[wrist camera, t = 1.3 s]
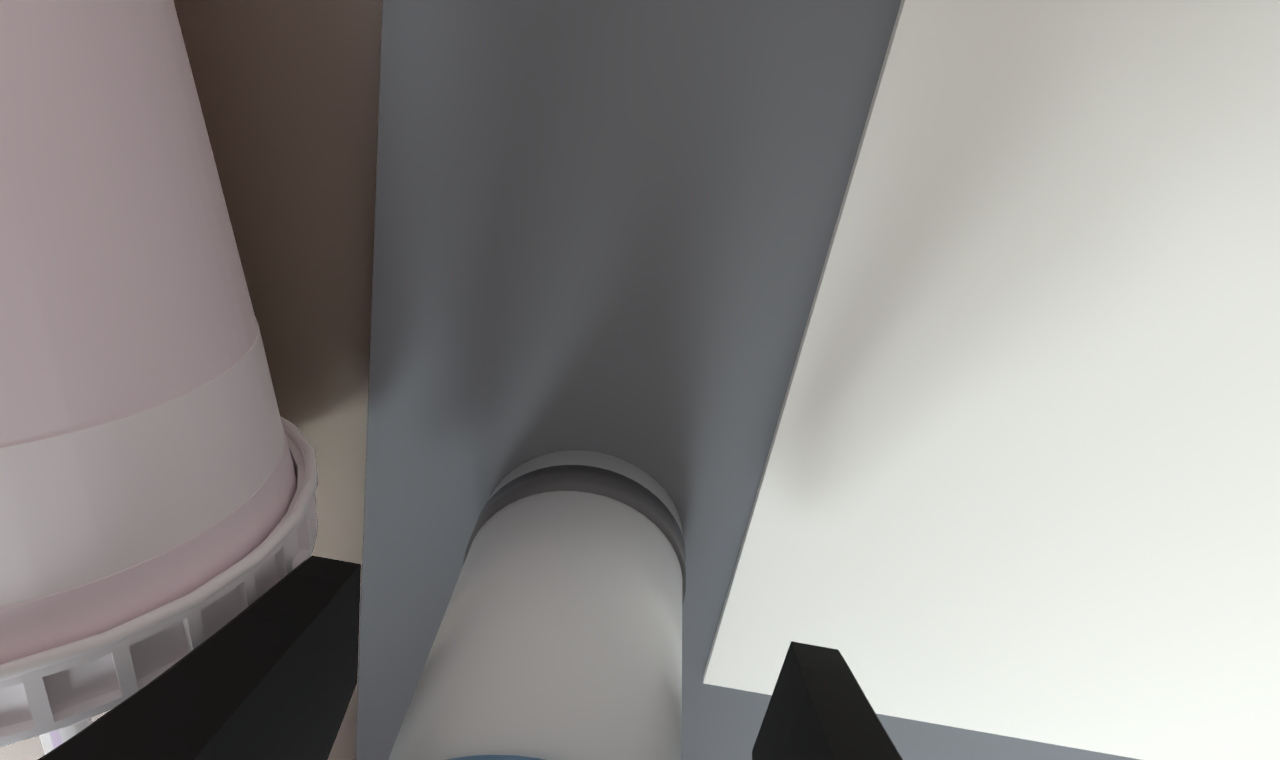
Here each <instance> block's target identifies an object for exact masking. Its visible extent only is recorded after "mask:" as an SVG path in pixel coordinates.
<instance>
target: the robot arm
mask: <svg viewBox="0 0 1280 760" xmlns="http://www.w3.org/2000/svg"><path fill="white" fill-rule="evenodd" d="M360 572H361V564H356V563H350V562H344V561H339V560H333V559H328V558H322V557H316V556H311V557H310V558H308V559H306V560H305V561H303V562H302V563H301V564H299V565H298V566H297V567H296V568H295V569H293V570H292V571H291V572H290V573H289V574H287V575H286V576H285V577H284V578H282V579H281V580H280V581H279V582H278V583H276V584H275V585H274V586H273V587H272V588H270V589H269V590H268V591H267V592H265V593H264V594H263V595H262V596H261V597H259V598H258V599H257V600H256V601H254V602H253V603H252V604H251V605H250V606H248V607H247V608H246V609H245V610H243V611H242V612H241V613H240V614H238V615H237V616H236V617H235V618H233V619H232V620H231V621H230V622H228V623H227V624H226V625H225V626H223V627H222V628H221V629H220V630H218V631H217V632H216V633H215V634H213V635H212V636H211V637H209V638H208V639H207V640H205V641H204V642H203V643H201V644H200V645H199V646H198V647H196V648H195V649H194V650H192V651H191V652H190V653H188V654H187V655H186V656H184V657H183V658H182V659H181V660H179V661H178V662H177V663H175V664H174V665H173V666H171V667H170V668H169V669H167V670H166V671H165V672H163V673H162V674H161V675H159V676H158V677H157V678H155V679H154V680H153V681H151V682H150V683H149V684H147V685H146V686H144V687H143V688H142V689H140V690H139V691H137V692H136V693H135V694H133V695H132V696H130V697H129V698H127V699H126V700H125V701H123V702H122V703H120V704H119V705H117V706H116V707H115V708H113V709H112V710H110V711H109V712H107V713H106V714H105V715H103V716H102V717H100V718H99V719H97V720H96V721H95V722H93V723H92V724H90V725H89V726H87V727H86V728H85V729H83V730H82V731H80V732H79V733H77V734H76V735H75V736H73V737H72V738H70V739H69V740H67V741H66V742H64V743H63V744H61V745H59V746H58V747H56V748H55V749H53V750H52V751H50V752H49V753H47V754H46V755H44V756H43V757H41V758H40V759H38V760H327V759H328V756H329V754H330V751H331V749H332V746H333V743H334V741H335V738H336V736H337V733H338V731H339V728H340V726H341V723H342V721H343V718H344V715H345V713H346V710H347V707H348V705H349V702H350V699H351V697H352V694H353V691H354V689H355V686H356V683H357V667H358V635H359V604H360ZM752 760H903V759H902V757H901V755H900V754H899V752H898V751H897V749H896V747H895V745H894V744H893V742H892V740H891V739H890V737H889V735H888V734H887V732H886V730H885V729H884V727H883V725H882V723H881V722H880V720H879V718H878V717H877V715H876V713H875V711H874V710H873V708H872V706H871V705H870V703H869V701H868V699H867V698H866V696H865V694H864V692H863V691H862V689H861V687H860V685H859V684H858V682H857V680H856V678H855V677H854V675H853V673H852V671H851V670H850V668H849V666H848V664H847V663H846V661H845V659H844V658H843V656H842V655H841V653H840V652H839V650H837V649H832V648H826V647H821V646H815V645H809V644H804V643H798V642H793V641H791V643H790V646H789V649H788V651H787V654H786V657H785V660H784V663H783V665H782V668H781V671H780V674H779V677H778V680H777V682H776V685H775V688H774V691H773V694H772V696H771V699H770V702H769V705H768V708H767V710H766V713H765V716H764V719H763V722H762V724H761V727H760V730H759V733H758V736H757V738H756V741H755V744H754V747H753V750H752Z"/></svg>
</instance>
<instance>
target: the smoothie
mask: <svg viewBox="0 0 1280 760" xmlns="http://www.w3.org/2000/svg"><path fill="white" fill-rule="evenodd" d="M317 485H318V477H317V465H316V452H315V450H314V449H313V447H312V446H311V445H310V443H309V442H308V441H307V439H306V438H305V437H304V435H303V434H302V433H301V431H300V430H299V429H298V427H297V426H296V425H294V424H293V423H291V422H289V421H288V420H286V419H284V418H283V417H281V416H280V413H279V409H278V405H277V401H276V397H275V392H274V388H273V384H272V380H271V375H270V371H269V367H268V363H267V359H266V354H265V350H264V346H263V342H262V338H261V333H260V329H259V325H258V322H257V319H256V318H255V314H254V311H253V307H252V303H251V299H250V295H249V291H248V287H247V283H246V280H245V276H244V272H243V268H242V264H241V260H240V256H239V252H238V249H237V245H236V241H235V237H234V233H233V229H232V225H231V222H230V218H229V214H228V210H227V206H226V202H225V198H224V194H223V191H222V187H221V183H220V179H219V175H218V171H217V167H216V164H215V160H214V156H213V152H212V148H211V144H210V140H209V136H208V133H207V129H206V125H205V121H204V117H203V113H202V109H201V105H200V102H199V98H198V94H197V90H196V86H195V82H194V78H193V75H192V71H191V67H190V63H189V59H188V55H187V51H186V47H185V44H184V40H183V36H182V32H181V28H180V24H179V20H178V17H177V13H176V9H175V5H174V1H173V0H0V747H2V746H5V745H9V744H12V743H15V742H19V741H22V740H26V739H29V738H32V737H36V736H39V737H40V740H41V744H42V747H43V751H44V754H45V755H46V754H47V753H49V752H50V751H52V750H53V749H55V748H56V747H58V746H59V745H61V744H63V743H64V742H66V741H67V740H69V739H70V738H72V737H73V736H75V735H76V734H77V733H79V732H80V731H82V730H83V729H85V728H86V727H87V726H89V725H90V724H92V719H91V717H94V716H96V715H98V714H101V713H103V712H106V711H108V710H110V709H113V708H115V707H116V706H117V705H119V704H120V703H122V702H123V701H125V700H126V699H127V698H129V697H130V696H132V695H133V694H135V693H136V692H137V691H139V690H140V689H142V688H143V687H144V686H146V685H147V684H149V683H150V682H151V681H153V680H154V679H155V678H157V677H158V676H159V675H161V674H162V673H163V672H165V671H166V670H167V669H169V668H170V667H171V666H173V665H174V664H175V663H177V662H178V661H179V660H181V659H182V658H183V657H184V656H186V655H187V654H188V653H190V652H191V651H192V650H194V649H195V648H196V647H198V646H199V645H200V644H201V643H203V642H204V641H205V640H207V639H208V638H209V637H211V636H212V635H213V634H215V633H216V632H217V631H218V630H220V629H221V628H222V627H223V626H225V625H226V624H227V623H228V622H230V621H231V620H232V619H233V618H235V617H236V616H237V615H238V614H240V613H241V612H242V611H243V610H245V609H246V608H247V607H248V606H250V605H251V604H252V603H253V602H254V601H256V600H257V599H258V598H259V597H261V596H262V595H263V594H264V593H265V592H267V591H268V590H269V589H270V588H272V587H273V586H274V585H275V584H276V583H278V582H279V581H280V580H281V579H282V578H284V577H285V576H286V575H287V574H289V573H290V572H291V571H292V570H293V569H295V568H296V567H297V566H298V565H299V564H301V563H302V562H303V561H305V560H306V559H308V558H310V555H311V553H312V551H313V548H314V544H315V541H316V537H317V527H318V519H317V509H316V498H315V489H316V487H317Z"/></svg>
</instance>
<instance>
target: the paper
mask: <svg viewBox="0 0 1280 760" xmlns="http://www.w3.org/2000/svg"><path fill="white" fill-rule="evenodd" d="M791 641H793V642H798V643H804V644H809V645H815V646H821V647H826V648H832V649H837V650H839V652H840V653H841V655H842V656H843V658H844V659H845V661H846V663H847V664H848V666H849V668H850V670H851V671H852V673H853V675H854V677H855V678H856V680H857V682H858V684H859V685H860V687H861V689H862V691H863V692H864V694H865V696H866V698H867V699H868V701H869V703H870V705H871V706H872V708H873V710H874V711H875V713H876V714H882V715H888V716H893V717H899V718H905V719H911V720H916V721H922V722H928V723H934V724H939V725H945V726H951V727H956V728H962V729H968V730H974V731H979V732H985V733H991V734H997V735H1002V736H1008V737H1014V738H1020V739H1025V740H1031V741H1037V742H1043V743H1048V744H1054V745H1060V746H1066V747H1071V748H1077V749H1083V750H1088V751H1094V752H1100V753H1106V754H1111V755H1117V756H1123V757H1129V758H1134V759H1140V760H1280V0H902V1H901V4H900V8H899V11H898V14H897V18H896V21H895V25H894V28H893V31H892V35H891V38H890V42H889V45H888V48H887V52H886V55H885V59H884V62H883V65H882V69H881V72H880V76H879V79H878V82H877V86H876V89H875V93H874V96H873V99H872V103H871V106H870V110H869V113H868V116H867V120H866V123H865V127H864V130H863V133H862V137H861V140H860V144H859V147H858V150H857V154H856V157H855V161H854V164H853V167H852V171H851V174H850V178H849V181H848V184H847V188H846V191H845V195H844V198H843V201H842V205H841V208H840V212H839V215H838V218H837V222H836V225H835V229H834V232H833V235H832V239H831V242H830V246H829V249H828V252H827V256H826V259H825V263H824V266H823V269H822V273H821V276H820V280H819V283H818V286H817V290H816V293H815V297H814V300H813V303H812V307H811V310H810V314H809V317H808V320H807V324H806V327H805V331H804V334H803V337H802V341H801V344H800V348H799V351H798V354H797V358H796V361H795V365H794V368H793V371H792V375H791V378H790V382H789V385H788V388H787V392H786V395H785V399H784V402H783V405H782V409H781V412H780V416H779V419H778V422H777V426H776V429H775V433H774V436H773V440H772V443H771V446H770V450H769V453H768V457H767V460H766V463H765V467H764V470H763V474H762V477H761V480H760V484H759V487H758V491H757V494H756V497H755V501H754V504H753V508H752V511H751V514H750V518H749V521H748V525H747V528H746V531H745V535H744V538H743V542H742V545H741V548H740V552H739V555H738V559H737V562H736V565H735V569H734V572H733V576H732V579H731V582H730V586H729V589H728V593H727V596H726V599H725V603H724V606H723V610H722V613H721V616H720V620H719V623H718V627H717V630H716V633H715V637H714V640H713V644H712V647H711V650H710V654H709V657H708V661H707V664H706V667H705V671H704V674H703V683H704V684H710V685H715V686H721V687H727V688H733V689H738V690H744V691H750V692H756V693H761V694H767V695H772V694H773V691H774V688H775V685H776V682H777V680H778V677H779V674H780V671H781V668H782V665H783V663H784V660H785V657H786V654H787V651H788V649H789V646H790V643H791Z"/></svg>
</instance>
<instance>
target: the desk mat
mask: <svg viewBox="0 0 1280 760" xmlns="http://www.w3.org/2000/svg"><path fill="white" fill-rule="evenodd" d="M901 1H902V0H383V5H382V33H381V61H380V89H379V117H378V144H377V172H376V200H375V228H374V256H373V284H372V312H371V340H370V367H369V395H368V423H367V451H366V479H365V507H364V535H363V563H362V590H361V618H360V646H359V674H358V702H357V730H356V758H355V760H388V759H389V756H390V754H391V751H392V749H393V746H394V743H395V741H396V738H397V736H398V733H399V731H400V728H401V725H402V723H403V720H404V718H405V715H406V712H407V710H408V707H409V705H410V702H411V700H412V697H413V694H414V692H415V689H416V687H417V684H418V681H419V679H420V676H421V674H422V671H423V669H424V666H425V663H426V661H427V658H428V656H429V653H430V650H431V648H432V645H433V643H434V640H435V638H436V635H437V632H438V630H439V627H440V625H441V622H442V619H443V617H444V614H445V612H446V609H447V607H448V604H449V601H450V599H451V596H452V594H453V591H454V588H455V586H456V583H457V581H458V578H459V575H460V573H461V570H462V568H463V561H464V556H465V551H466V548H467V545H468V543H469V540H470V537H471V535H472V532H473V530H474V527H475V525H476V522H477V520H478V517H479V515H480V513H481V511H482V510H483V508H484V506H485V505H486V503H487V502H488V501H489V498H490V496H491V495H492V493H493V491H494V489H495V488H496V487H497V485H498V484H499V483H500V482H501V480H502V479H503V478H504V477H505V476H506V475H508V474H509V473H510V472H511V471H512V470H514V469H515V468H517V467H518V466H519V465H521V464H523V463H525V462H527V461H529V460H531V459H533V458H536V457H539V456H542V455H544V454H549V453H553V452H559V451H568V450H585V451H593V452H600V453H604V454H608V455H612V456H615V457H617V458H620V459H623V460H625V461H627V462H629V463H631V464H633V465H635V466H637V467H639V468H640V469H642V470H643V471H645V472H646V473H648V474H649V475H650V476H651V477H652V478H654V479H655V480H656V481H657V482H658V483H659V484H660V485H661V486H662V487H663V488H664V490H665V491H666V492H667V494H668V495H669V496H670V498H671V499H672V501H673V503H674V505H675V507H676V509H677V511H678V514H679V517H680V520H681V525H682V531H683V539H684V543H685V550H686V592H685V598H684V602H683V605H682V755H681V760H752V750H753V747H754V744H755V741H756V738H757V736H758V733H759V730H760V727H761V724H762V722H763V719H764V716H765V713H766V710H767V708H768V705H769V702H770V699H771V696H772V695H767V694H761V693H756V692H750V691H744V690H738V689H733V688H727V687H721V686H715V685H710V684H704V683H703V674H704V671H705V667H706V664H707V661H708V657H709V654H710V650H711V647H712V644H713V640H714V637H715V633H716V630H717V627H718V623H719V620H720V616H721V613H722V610H723V606H724V603H725V599H726V596H727V593H728V589H729V586H730V582H731V579H732V576H733V572H734V569H735V565H736V562H737V559H738V555H739V552H740V548H741V545H742V542H743V538H744V535H745V531H746V528H747V525H748V521H749V518H750V514H751V511H752V508H753V504H754V501H755V497H756V494H757V491H758V487H759V484H760V480H761V477H762V474H763V470H764V467H765V463H766V460H767V457H768V453H769V450H770V446H771V443H772V440H773V436H774V433H775V429H776V426H777V422H778V419H779V416H780V412H781V409H782V405H783V402H784V399H785V395H786V392H787V388H788V385H789V382H790V378H791V375H792V371H793V368H794V365H795V361H796V358H797V354H798V351H799V348H800V344H801V341H802V337H803V334H804V331H805V327H806V324H807V320H808V317H809V314H810V310H811V307H812V303H813V300H814V297H815V293H816V290H817V286H818V283H819V280H820V276H821V273H822V269H823V266H824V263H825V259H826V256H827V252H828V249H829V246H830V242H831V239H832V235H833V232H834V229H835V225H836V222H837V218H838V215H839V212H840V208H841V205H842V201H843V198H844V195H845V191H846V188H847V184H848V181H849V178H850V174H851V171H852V167H853V164H854V161H855V157H856V154H857V150H858V147H859V144H860V140H861V137H862V133H863V130H864V127H865V123H866V120H867V116H868V113H869V110H870V106H871V103H872V99H873V96H874V93H875V89H876V86H877V82H878V79H879V76H880V72H881V69H882V65H883V62H884V59H885V55H886V52H887V48H888V45H889V42H890V38H891V35H892V31H893V28H894V25H895V21H896V18H897V14H898V11H899V8H900V4H901ZM876 715H877V717H878V718H879V720H880V722H881V723H882V725H883V727H884V729H885V730H886V732H887V734H888V735H889V737H890V739H891V740H892V742H893V744H894V745H895V747H896V749H897V751H898V752H899V754H900V755H901V757H902V759H903V760H1140V759H1134V758H1129V757H1123V756H1117V755H1111V754H1106V753H1100V752H1094V751H1088V750H1083V749H1077V748H1071V747H1066V746H1060V745H1054V744H1048V743H1043V742H1037V741H1031V740H1025V739H1020V738H1014V737H1008V736H1002V735H997V734H991V733H985V732H979V731H974V730H968V729H962V728H956V727H951V726H945V725H939V724H934V723H928V722H922V721H916V720H911V719H905V718H899V717H893V716H888V715H882V714H876Z"/></svg>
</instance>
